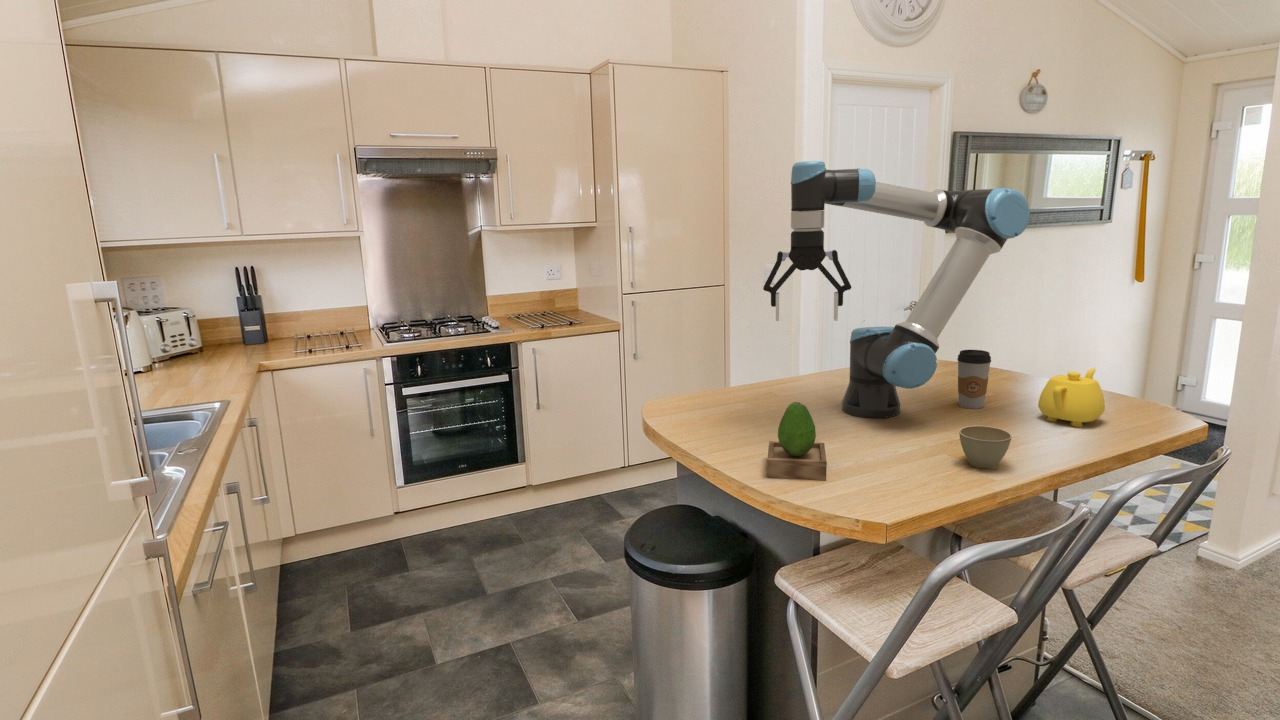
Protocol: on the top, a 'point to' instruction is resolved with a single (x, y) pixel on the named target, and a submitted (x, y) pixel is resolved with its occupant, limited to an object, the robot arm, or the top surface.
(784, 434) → the avocado
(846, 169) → the robot arm
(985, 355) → the coffee cup
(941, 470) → the top surface
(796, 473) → the base
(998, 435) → the grey bowl
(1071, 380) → the teapot
